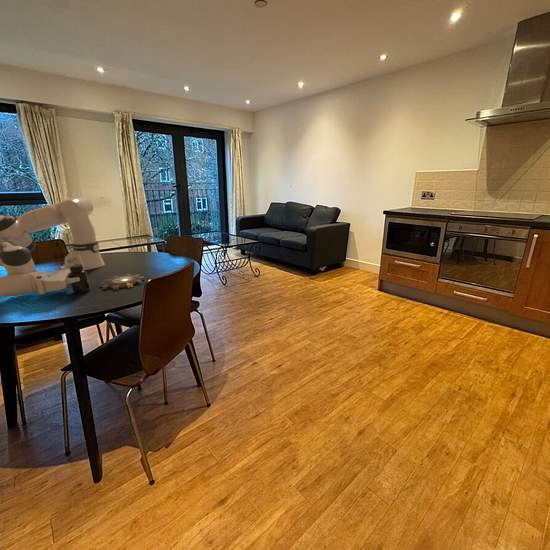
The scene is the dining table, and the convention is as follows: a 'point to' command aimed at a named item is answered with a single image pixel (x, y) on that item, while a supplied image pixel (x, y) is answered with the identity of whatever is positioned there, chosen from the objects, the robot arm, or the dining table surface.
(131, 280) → the sprocket plate
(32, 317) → the dining table surface
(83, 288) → the supplement bottle
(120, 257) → the dining table surface
